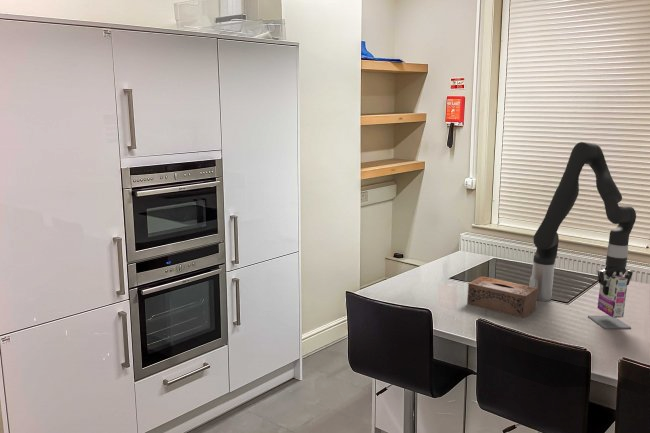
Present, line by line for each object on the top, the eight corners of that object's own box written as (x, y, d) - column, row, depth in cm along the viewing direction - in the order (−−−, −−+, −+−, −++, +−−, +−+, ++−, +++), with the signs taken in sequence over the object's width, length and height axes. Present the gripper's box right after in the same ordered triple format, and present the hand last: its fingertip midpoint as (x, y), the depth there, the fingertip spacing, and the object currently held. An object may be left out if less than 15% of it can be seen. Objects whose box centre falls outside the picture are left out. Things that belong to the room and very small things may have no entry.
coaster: (604, 328, 223) (604, 327, 223) (587, 316, 235) (587, 315, 235) (630, 328, 223) (631, 327, 223) (612, 316, 236) (613, 315, 236)
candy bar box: (624, 317, 223) (628, 278, 220) (612, 318, 223) (617, 279, 220) (607, 307, 234) (612, 270, 231) (596, 308, 234) (600, 270, 231)
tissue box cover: (467, 304, 249) (468, 283, 247) (480, 296, 260) (481, 276, 258) (523, 318, 233) (525, 296, 231) (535, 309, 244) (537, 288, 242)
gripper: (605, 257, 220) (600, 297, 223) (639, 257, 221) (634, 297, 224) (594, 252, 227) (590, 291, 230) (628, 252, 228) (623, 291, 231)
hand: (612, 294), depth 227 cm, fingers closed on candy bar box, 5 cm apart
